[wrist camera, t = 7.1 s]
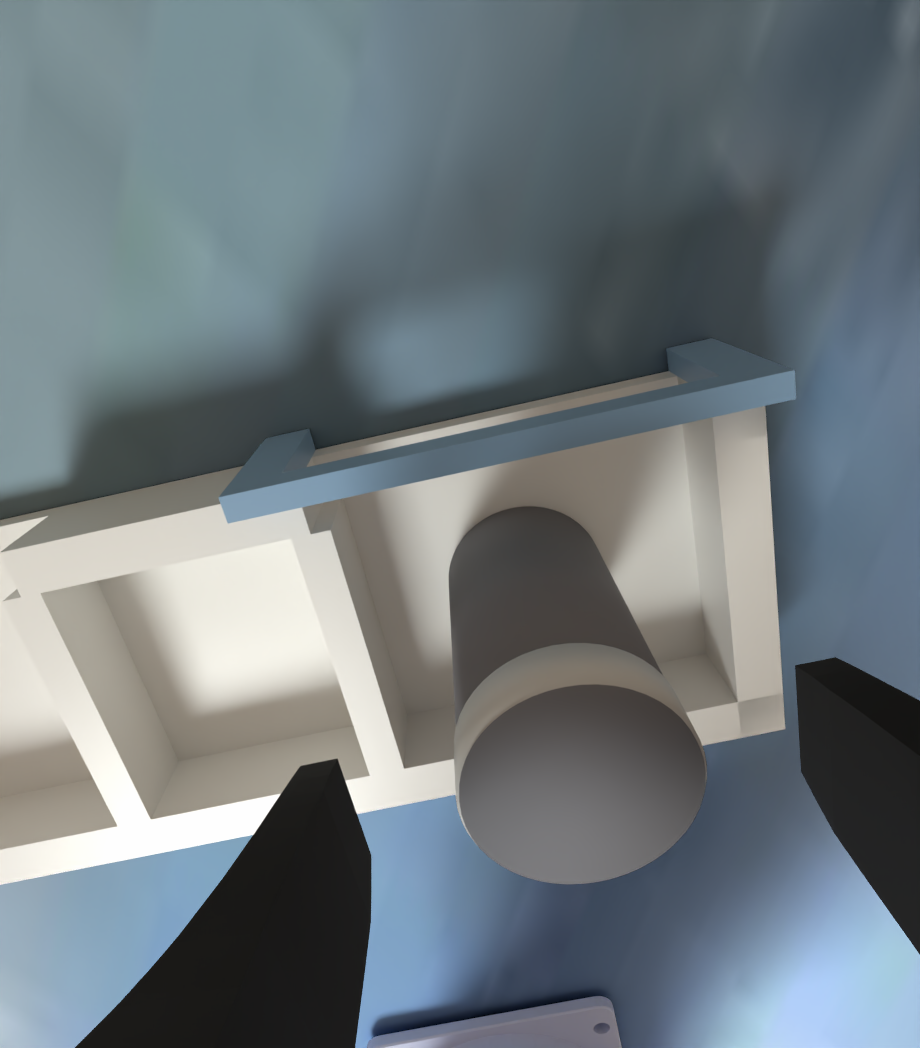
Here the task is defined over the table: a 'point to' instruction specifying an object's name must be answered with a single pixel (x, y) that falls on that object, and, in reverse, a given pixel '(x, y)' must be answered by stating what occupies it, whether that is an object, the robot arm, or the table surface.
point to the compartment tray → (362, 606)
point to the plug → (561, 708)
